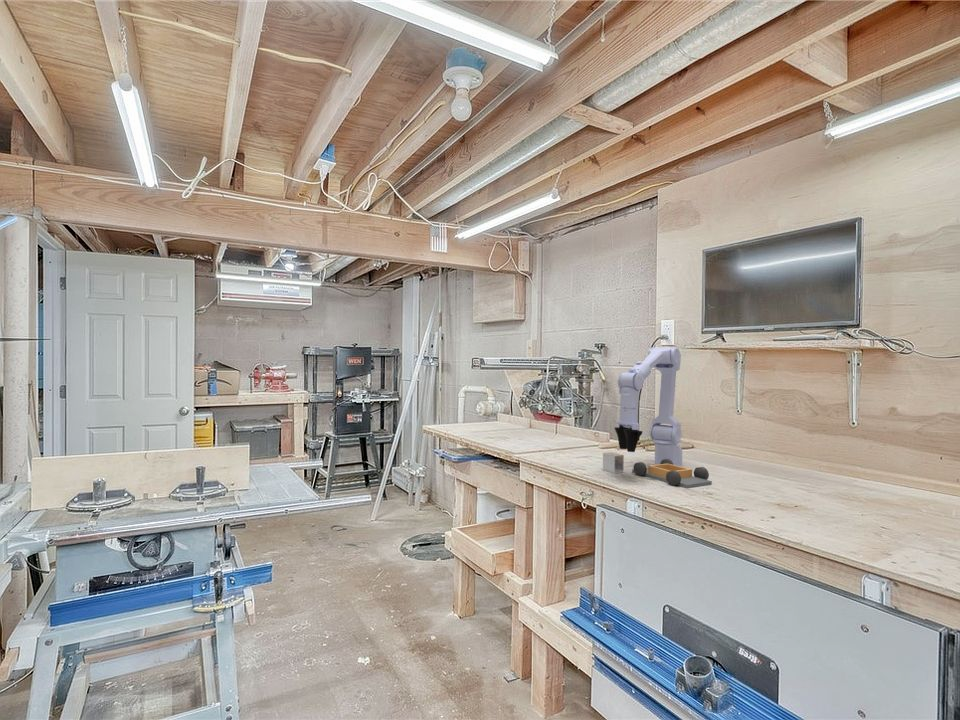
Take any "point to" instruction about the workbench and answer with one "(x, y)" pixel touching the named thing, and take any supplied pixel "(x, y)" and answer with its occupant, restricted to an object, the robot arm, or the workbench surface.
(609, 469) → the engine block
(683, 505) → the workbench surface
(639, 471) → the chassis
